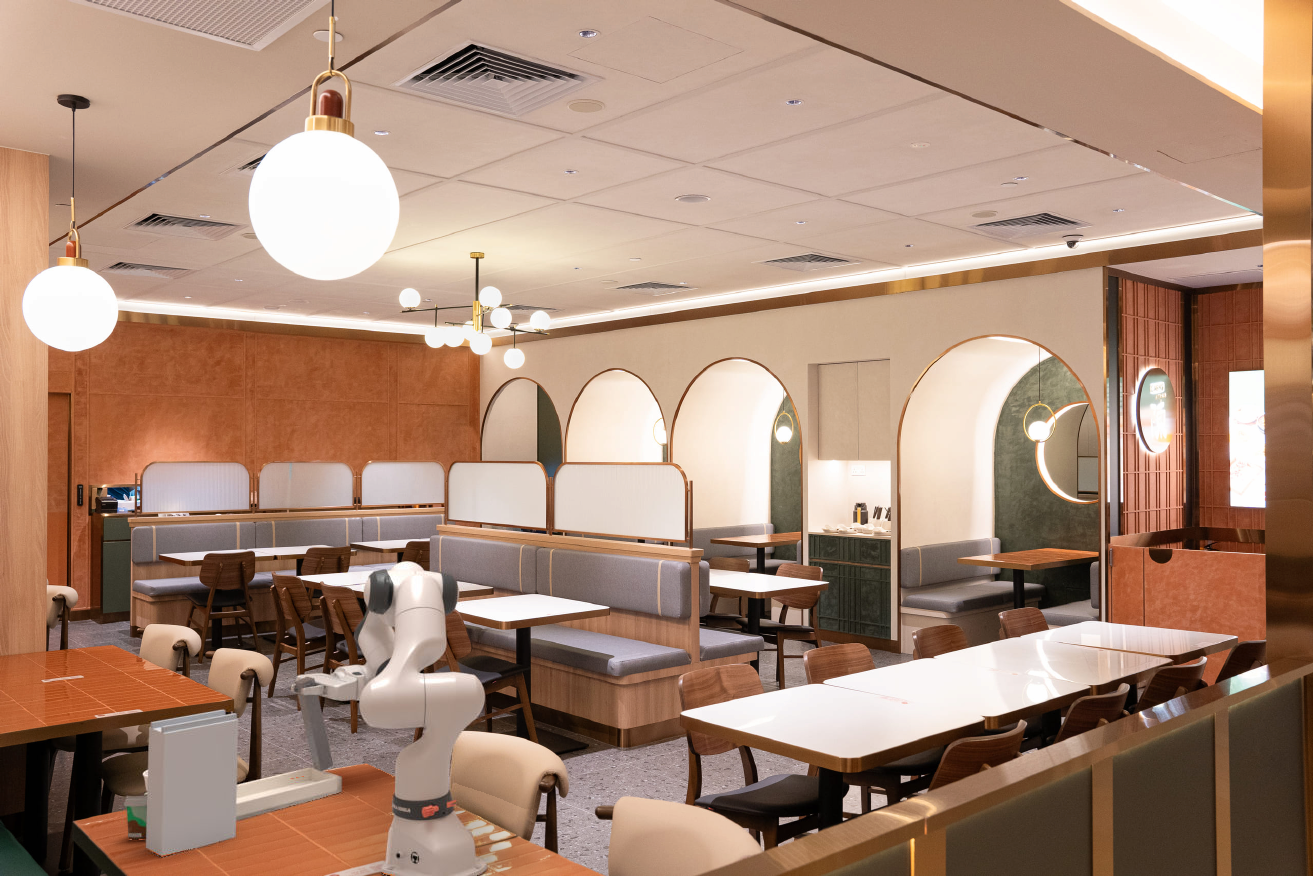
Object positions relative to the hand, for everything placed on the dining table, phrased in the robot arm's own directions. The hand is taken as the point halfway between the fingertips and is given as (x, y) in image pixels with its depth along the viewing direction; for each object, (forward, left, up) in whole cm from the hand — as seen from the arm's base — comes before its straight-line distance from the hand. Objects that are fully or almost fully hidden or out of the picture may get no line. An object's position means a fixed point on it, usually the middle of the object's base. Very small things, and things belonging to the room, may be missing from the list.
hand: (297, 690), depth 247 cm
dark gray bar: (0, -6, -9) cm, 11 cm away
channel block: (-12, +31, -27) cm, 43 cm away
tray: (+1, +6, -27) cm, 28 cm away
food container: (-1, +34, -27) cm, 44 cm away
